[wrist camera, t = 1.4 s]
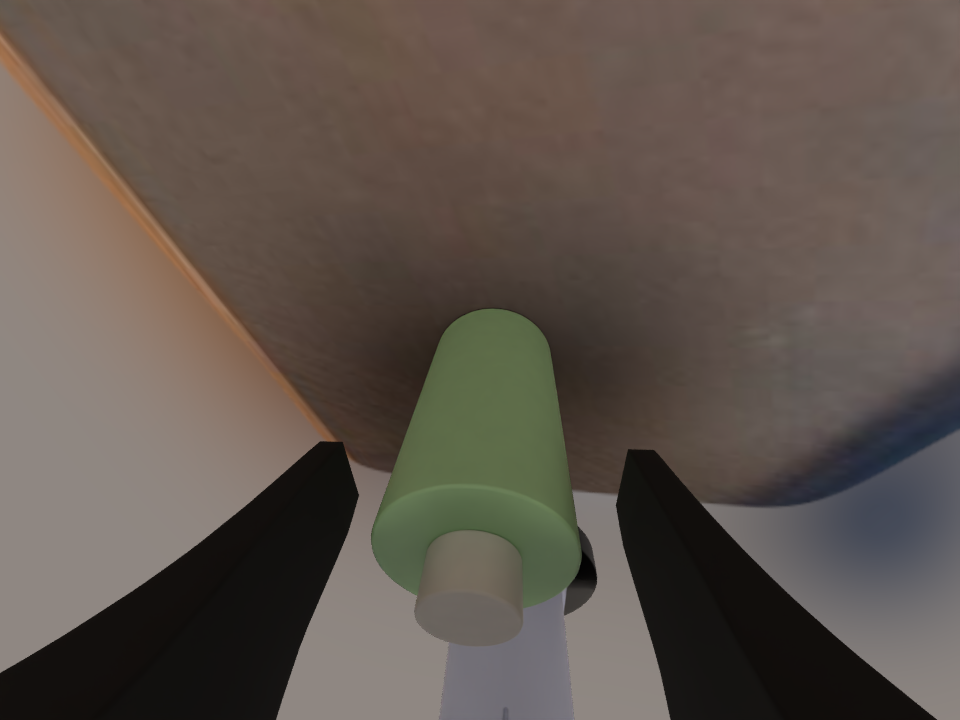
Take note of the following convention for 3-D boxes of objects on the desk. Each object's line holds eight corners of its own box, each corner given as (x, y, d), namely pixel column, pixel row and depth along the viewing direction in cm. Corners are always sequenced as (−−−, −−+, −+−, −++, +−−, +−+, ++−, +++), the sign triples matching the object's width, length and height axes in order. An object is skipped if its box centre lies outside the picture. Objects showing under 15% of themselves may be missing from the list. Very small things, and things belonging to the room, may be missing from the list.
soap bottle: (547, 406, 16) (579, 682, 8) (442, 404, 16) (372, 666, 8) (554, 307, 13) (608, 556, 6) (431, 308, 14) (320, 541, 6)
